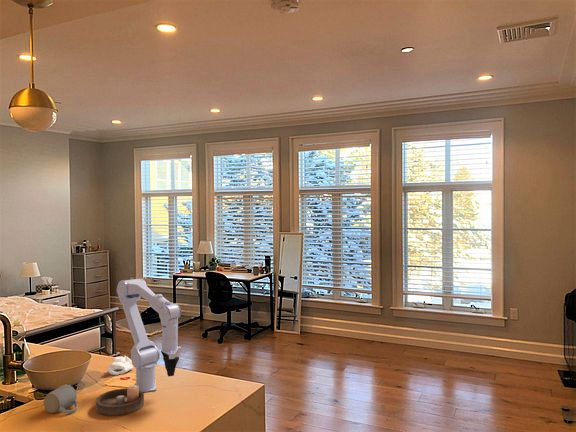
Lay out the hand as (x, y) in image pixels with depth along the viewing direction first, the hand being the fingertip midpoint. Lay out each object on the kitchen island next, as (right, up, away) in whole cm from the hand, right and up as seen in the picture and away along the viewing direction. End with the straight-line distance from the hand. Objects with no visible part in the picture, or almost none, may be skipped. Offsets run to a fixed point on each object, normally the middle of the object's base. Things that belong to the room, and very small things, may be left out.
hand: (169, 372), depth 168 cm
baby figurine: (-28, -10, +27) cm, 40 cm away
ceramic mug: (-34, -9, -11) cm, 38 cm away
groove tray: (-16, -9, -8) cm, 20 cm away
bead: (-12, -8, -7) cm, 16 cm away
